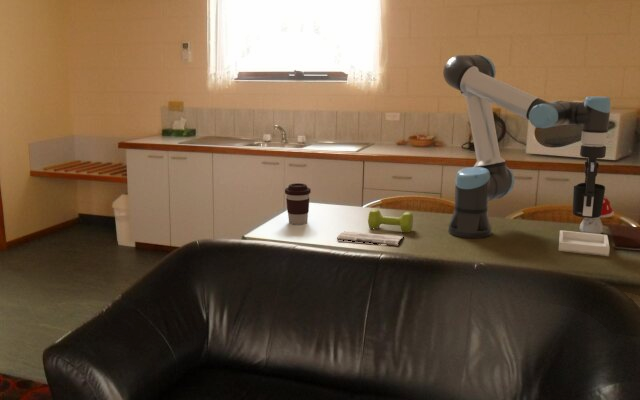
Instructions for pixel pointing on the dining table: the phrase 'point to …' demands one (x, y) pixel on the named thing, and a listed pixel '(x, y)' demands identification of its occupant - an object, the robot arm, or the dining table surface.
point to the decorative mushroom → (596, 220)
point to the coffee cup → (297, 203)
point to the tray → (584, 243)
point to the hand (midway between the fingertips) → (586, 212)
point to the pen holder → (579, 200)
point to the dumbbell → (390, 220)
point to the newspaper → (369, 238)
